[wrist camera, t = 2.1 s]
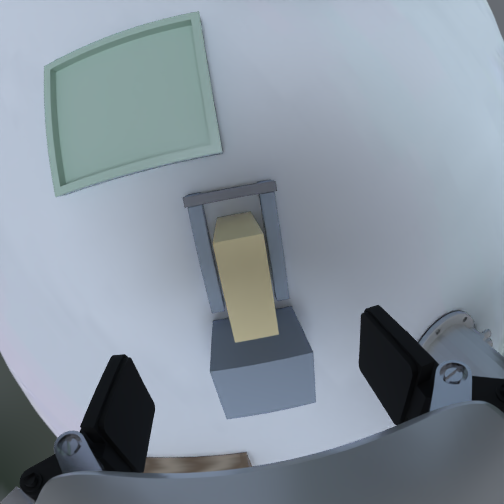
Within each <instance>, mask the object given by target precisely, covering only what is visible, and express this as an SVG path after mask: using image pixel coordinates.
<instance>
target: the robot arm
mask: <svg viewBox="0 0 504 504" xmlns="http://www.w3.org/2000/svg"><path fill="white" fill-rule="evenodd" d="M490 336H491V331H490V330H489V329H487V330H485V331H483V332H482V333H480V332H478V331H477V330H476V329H474V321H473V319H472V317H471V316H469V315H468V314H467V313H465V312H463V311H456V312H452V313H450V314H447V315H446V316H444V317H443V318H441V319H440V320H439V321H437V322H436V323H435V324H434V325H433V326H432V327H431V328H430V329H429V330H428V331H427V332H426V334H425V335H424V336H423V337H422V339H421V340H420V342H419V343H418V342H417V341H416V340H415V339H414V338H413V337H412V336H411V335H410V334H409V333H408V332H407V331H405V330H404V329H403V328H402V327H401V326H400V325H399V324H398V323H397V322H396V321H395V320H394V319H393V318H392V317H391V316H390V315H389V314H388V313H387V312H386V311H385V310H384V309H383V308H382V307H380V306H379V305H376V306H373V307H370V308H366V309H365V311H364V313H362V314H361V330H360V352H359V368H360V370H361V372H362V374H363V375H364V377H365V378H366V380H367V382H368V383H369V385H370V386H371V388H372V389H373V391H374V392H375V394H376V396H377V397H378V399H379V400H380V402H381V403H382V405H383V407H384V408H385V410H386V411H387V413H388V415H389V416H390V418H391V419H392V421H393V423H394V424H395V425H397V426H395V427H392V428H390V429H387V430H385V431H382V432H379V433H377V434H374V435H371V436H369V437H366V438H363V439H361V440H358V441H355V442H352V443H349V444H346V445H343V446H340V447H336V448H333V449H330V450H326V451H323V452H319V453H315V454H312V455H308V456H304V457H299V458H295V459H291V460H286V461H281V462H276V463H271V464H266V465H260V466H253V467H247V468H239V469H231V470H222V471H211V472H196V473H143V472H144V469H145V463H146V456H147V451H148V445H149V439H150V434H151V428H152V423H153V418H154V413H155V405H154V402H153V400H152V398H151V396H150V394H149V393H148V391H147V389H146V387H145V385H144V383H143V381H142V379H141V377H140V375H139V373H138V371H137V369H136V367H135V365H134V363H133V361H132V359H131V358H130V357H127V356H126V355H125V354H123V355H113V356H112V357H111V358H110V360H109V362H108V364H107V367H106V369H105V371H104V373H103V375H102V377H101V379H100V382H99V384H98V386H97V388H96V390H95V393H94V395H93V397H92V400H91V402H90V404H89V407H88V409H87V411H86V414H85V416H84V418H83V421H82V423H81V426H80V427H81V430H80V433H79V432H78V431H68V432H65V433H63V434H61V435H60V436H59V437H58V438H57V439H56V441H55V443H54V452H55V454H54V455H52V456H51V457H49V458H47V459H45V460H44V461H42V462H40V463H38V464H36V465H34V466H33V467H31V468H29V469H27V470H26V471H25V472H24V473H23V474H22V476H21V478H20V487H21V488H20V489H19V488H18V487H16V488H15V489H14V490H13V491H12V492H11V493H9V495H7V497H5V498H4V499H3V500H2V501H1V502H0V504H504V357H503V356H502V355H501V354H500V353H498V352H497V351H496V350H495V349H494V348H492V345H493V343H492V340H491V339H490V338H489V337H490Z"/></svg>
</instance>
